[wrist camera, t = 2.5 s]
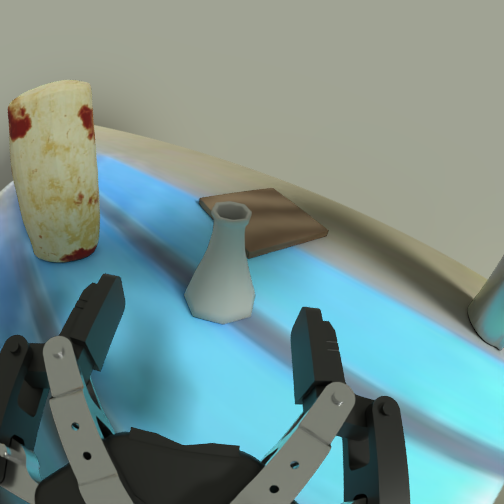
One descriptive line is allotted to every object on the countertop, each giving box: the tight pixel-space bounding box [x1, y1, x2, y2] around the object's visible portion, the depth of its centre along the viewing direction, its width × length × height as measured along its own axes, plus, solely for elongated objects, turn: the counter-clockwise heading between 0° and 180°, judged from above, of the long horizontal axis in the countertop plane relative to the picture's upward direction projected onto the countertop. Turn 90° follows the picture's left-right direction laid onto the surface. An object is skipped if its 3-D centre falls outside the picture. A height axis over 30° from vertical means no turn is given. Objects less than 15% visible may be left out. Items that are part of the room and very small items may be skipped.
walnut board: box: [199, 188, 329, 259], centre depth 41 cm, size 14×14×1 cm
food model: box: [8, 80, 100, 262], centre depth 22 cm, size 10×7×20 cm
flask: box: [184, 201, 255, 324], centre depth 25 cm, size 7×7×10 cm
